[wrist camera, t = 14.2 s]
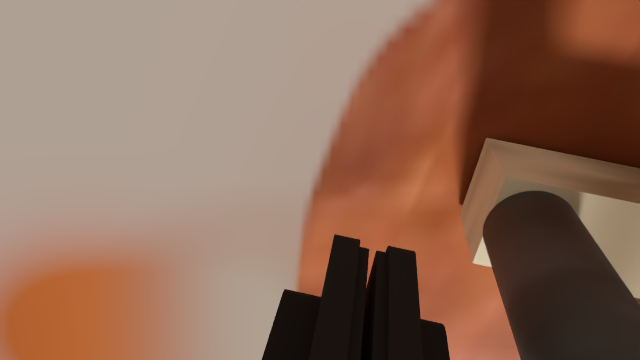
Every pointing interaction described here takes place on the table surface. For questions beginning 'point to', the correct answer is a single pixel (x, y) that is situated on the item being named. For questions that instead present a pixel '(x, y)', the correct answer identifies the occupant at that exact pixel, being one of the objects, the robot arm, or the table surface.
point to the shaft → (559, 249)
